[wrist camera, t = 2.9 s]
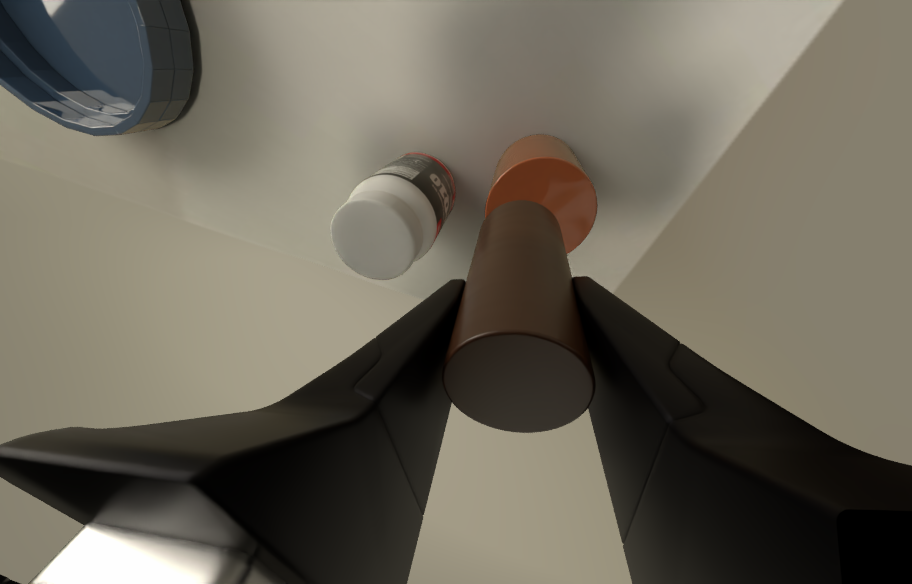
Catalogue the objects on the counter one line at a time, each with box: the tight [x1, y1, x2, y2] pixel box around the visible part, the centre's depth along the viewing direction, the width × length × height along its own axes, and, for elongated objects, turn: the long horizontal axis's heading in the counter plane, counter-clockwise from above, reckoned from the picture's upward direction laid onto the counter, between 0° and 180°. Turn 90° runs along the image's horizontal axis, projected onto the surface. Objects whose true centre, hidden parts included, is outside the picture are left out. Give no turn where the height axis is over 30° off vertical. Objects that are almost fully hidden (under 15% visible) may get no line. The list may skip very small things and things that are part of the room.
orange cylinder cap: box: [485, 134, 597, 254], centre depth 17 cm, size 5×5×6 cm
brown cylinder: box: [442, 200, 596, 433], centre depth 9 cm, size 3×3×7 cm
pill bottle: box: [331, 152, 456, 280], centre depth 18 cm, size 5×5×8 cm
